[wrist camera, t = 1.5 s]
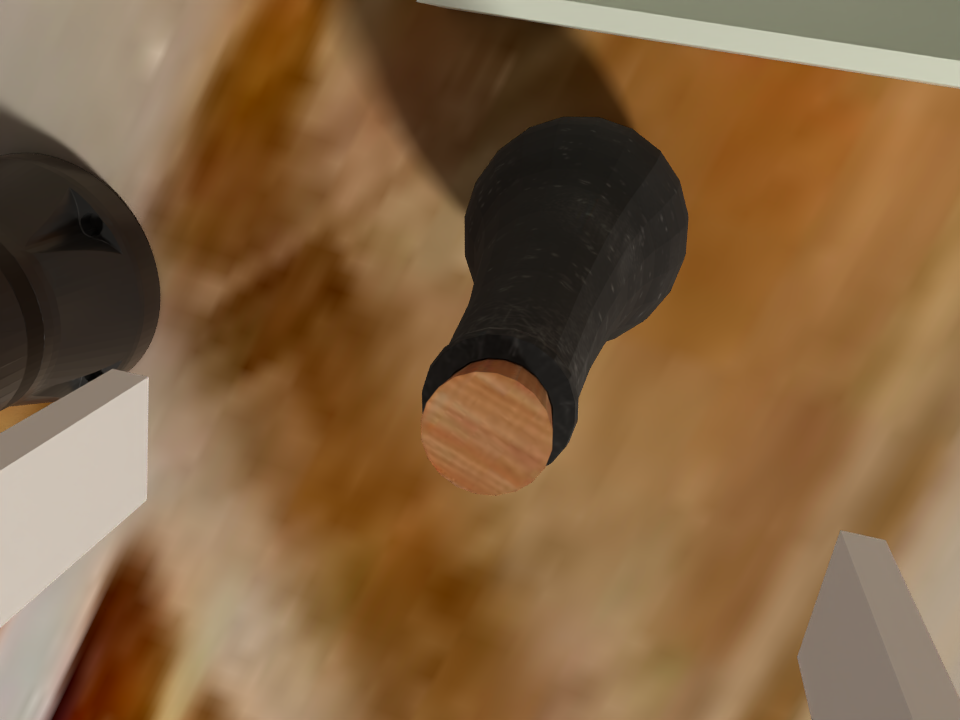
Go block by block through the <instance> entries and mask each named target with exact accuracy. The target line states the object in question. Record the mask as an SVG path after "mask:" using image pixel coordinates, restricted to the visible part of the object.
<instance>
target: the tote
mask: <svg viewBox="0 0 960 720" xmlns="http://www.w3.org/2000/svg"><path fill="white" fill-rule="evenodd" d="M416 2H419V3H424V4H428V5H433V6H438V7H442V8H447V9H454V10H460V11H466V12H473V13H479V14H486V15H492V16H498V17H505V18H511V19H517V20H524V21H530V22H537V23H543V24H549V25H556V26H562V27H568V28H575V29H581V30H588V31H594V32H600V33H607V34H613V35H620V36H626V37H632V38H639V39H645V40H651V41H658V42H664V43H671V44H677V45H683V46H690V47H696V48H702V49H709V50H715V51H722V52H728V53H734V54H741V55H747V56H753V57H760V58H766V59H773V60H779V61H785V62H792V63H798V64H804V65H811V66H817V67H824V68H830V69H836V70H843V71H849V72H856V73H862V74H868V75H875V76H881V77H887V78H894V79H900V80H907V81H913V82H919V83H926V84H932V85H938V86H945V87H951V88H958V89H960V0H417V1H416Z"/></svg>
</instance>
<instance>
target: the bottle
mask: <svg viewBox="0 0 960 720" xmlns="http://www.w3.org/2000/svg"><path fill="white" fill-rule="evenodd" d="M687 230H688V212H687V208H686V204H685V200H684V196H683V192H682V188H681V184H680V180H679V179H678V177H677V176H676V174H675V173H674V171H673V170H672V168H671V167H670V165H669V163H668V162H667V160H666V159H665V157H664V156H663V154H662V153H661V151H660V150H659V149H657V148H656V147H655V146H653V145H652V144H651V143H650V142H648V141H647V140H646V139H645V138H643V137H642V136H641V135H639V134H638V133H637V132H636V131H634V130H633V129H631V128H628V127H625V126H623V125H620V124H617V123H614V122H611V121H608V120H606V119H603V118H600V117H561V118H558V119H555V120H552V121H548V122H545V123H542V124H539V125H536V126H533V127H530V128H528V129H527V130H526V131H524V132H523V133H522V134H520V135H519V136H517V137H516V138H515V139H513V140H512V141H511V142H509V143H508V144H507V145H505V146H504V147H502V148H501V149H500V150H499V151H498V152H497V153H496V155H495V156H494V158H493V159H492V160H491V162H490V163H489V164H488V166H487V167H486V169H485V170H484V171H483V173H482V174H481V176H480V177H479V178H478V180H477V182H476V183H475V186H474V189H473V192H472V195H471V199H470V202H469V205H468V208H467V211H466V214H465V257H466V260H467V264H468V267H469V270H470V273H471V276H472V279H473V282H474V285H473V290H472V294H471V298H470V301H469V304H468V307H467V309H466V311H465V313H464V315H463V317H462V319H461V321H460V323H459V325H458V327H457V329H456V331H455V333H454V335H453V337H452V339H451V341H450V343H449V345H447V346H446V347H444V348H443V350H442V351H441V352H440V354H439V355H438V356H437V358H436V359H435V360H434V361H433V363H432V364H431V365H430V368H429V371H428V374H427V377H426V381H425V384H424V387H423V390H422V410H423V415H422V418H421V440H422V443H423V446H424V449H425V451H426V454H427V457H428V459H429V460H430V462H431V463H432V464H433V466H434V467H435V468H436V470H437V471H438V472H439V474H440V475H442V476H443V477H444V478H446V479H447V480H448V481H450V482H451V483H452V484H454V485H455V486H457V487H459V488H462V489H464V490H467V491H470V492H472V493H475V494H484V495H495V496H496V495H501V494H506V493H511V492H516V491H517V490H519V489H521V488H523V487H524V486H526V485H528V484H530V483H532V482H533V481H534V480H535V478H536V477H537V476H538V475H539V474H540V473H541V472H542V471H543V469H544V468H545V467H546V466H547V465H549V464H551V463H552V462H553V461H554V459H555V458H556V457H557V456H558V455H559V454H560V453H561V452H562V450H563V449H564V448H565V447H566V446H567V444H568V443H569V441H570V438H571V436H572V433H573V431H574V428H575V426H576V423H577V420H578V398H579V395H580V393H581V390H582V388H583V385H584V382H585V380H586V377H587V375H588V372H589V370H590V368H591V366H592V364H593V363H594V361H595V359H596V357H597V356H598V354H599V352H600V350H601V349H602V347H603V345H604V344H605V343H606V341H609V340H612V339H615V338H616V337H618V336H620V335H621V334H623V333H625V332H626V331H628V330H630V329H631V328H633V327H635V326H636V325H638V324H640V323H641V322H643V321H644V320H645V319H647V318H648V317H649V315H650V314H651V313H652V312H653V311H654V310H655V309H656V307H657V306H658V305H659V304H660V303H661V302H662V301H663V299H664V298H665V297H666V296H667V295H668V294H669V293H670V291H671V289H672V286H673V284H674V282H675V279H676V277H677V274H678V272H679V270H680V267H681V265H682V263H683V260H684V257H685V254H686V242H687Z"/></svg>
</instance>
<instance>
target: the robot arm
mask: <svg viewBox="0 0 960 720" xmlns="http://www.w3.org/2000/svg"><path fill="white" fill-rule="evenodd" d="M159 310H160V285H159V278H158V272H157V268H156V263H155V260H154V257H153V254H152V251H151V248H150V246H149V243H148V241H147V239H146V237H145V235H144V233H143V231H142V229H141V227H140V226H139V224H138V222H137V221H136V219H135V218H134V216H133V215H132V213H131V212H130V211H129V209H128V208H127V207H126V206H125V204H124V203H123V202H122V201H121V200H120V199H119V198H118V197H117V196H116V195H115V194H114V193H113V192H112V191H111V190H110V189H109V188H108V187H107V186H106V185H105V184H103V183H102V182H101V181H100V180H98V179H97V178H96V177H94V176H93V175H91V174H90V173H88V172H87V171H85V170H83V169H81V168H80V167H78V166H75V165H73V164H71V163H69V162H66V161H64V160H61V159H58V158H55V157H51V156H47V155H41V154H33V153H17V154H9V155H3V156H0V411H1V410H3V409H5V408H7V407H9V406H18V405H28V404H38V403H47V402H54V403H52V404H50V405H49V406H47V407H45V408H43V409H42V410H40V411H38V412H36V413H35V414H33V415H31V416H30V417H28V418H26V419H24V420H23V421H21V422H19V423H17V424H16V425H14V426H12V427H10V428H9V429H7V430H5V431H3V432H2V433H0V628H1V627H2V626H3V625H4V624H5V623H6V622H7V621H9V620H10V619H11V618H12V617H13V616H14V615H15V614H17V613H18V612H19V611H20V610H21V609H22V608H24V607H25V606H26V605H27V604H28V603H29V602H30V601H32V600H33V599H34V598H35V597H36V596H37V595H38V594H40V593H41V592H42V591H43V590H44V589H45V588H46V587H48V586H49V585H50V584H51V583H52V582H53V581H55V580H56V579H57V578H58V577H59V576H60V575H61V574H63V573H64V572H65V571H66V570H67V569H68V568H69V567H71V566H72V565H73V564H74V563H75V562H76V561H77V560H79V559H80V558H81V557H82V556H83V555H84V554H86V553H87V552H88V551H89V550H90V549H91V548H92V547H94V546H95V545H96V544H97V543H98V542H99V541H100V540H102V539H103V538H104V537H105V536H106V535H107V534H108V533H110V532H111V531H112V530H113V529H114V528H115V527H117V526H118V525H119V524H120V523H121V522H122V521H123V520H125V519H126V518H127V517H128V516H129V515H130V514H131V513H133V512H134V511H135V510H136V509H137V508H138V507H139V506H141V505H142V504H143V503H144V502H145V501H146V500H147V457H148V387H149V377H147V376H143V375H138V374H134V373H129V372H128V371H129V370H131V369H132V368H133V367H134V366H135V365H136V364H137V362H138V361H139V360H140V359H141V358H142V356H143V355H144V353H145V352H146V350H147V349H148V347H149V345H150V343H151V341H152V338H153V336H154V333H155V330H156V327H157V322H158V318H159ZM797 658H798V662H799V667H800V671H801V675H802V680H803V684H804V688H805V693H806V697H807V701H808V706H809V710H810V714H811V719H812V720H960V698H959V696H958V694H957V692H956V690H955V688H954V686H953V683H952V681H951V679H950V677H949V675H948V673H947V671H946V668H945V666H944V664H943V662H942V660H941V658H940V656H939V654H938V651H937V649H936V647H935V645H934V643H933V641H932V639H931V636H930V634H929V632H928V630H927V628H926V626H925V624H924V621H923V619H922V617H921V615H920V613H919V611H918V609H917V607H916V604H915V602H914V600H913V598H912V596H911V594H910V592H909V589H908V587H907V585H906V583H905V581H904V579H903V577H902V575H901V572H900V570H899V568H898V566H897V564H896V562H895V560H894V557H893V555H892V553H891V551H890V549H889V547H888V545H887V542H886V540H882V539H877V538H873V537H868V536H864V535H859V534H855V533H850V532H846V531H841V530H840V533H839V536H838V539H837V542H836V545H835V548H834V551H833V554H832V557H831V560H830V562H829V565H828V568H827V571H826V574H825V577H824V580H823V583H822V586H821V589H820V592H819V595H818V598H817V601H816V604H815V606H814V609H813V612H812V615H811V618H810V621H809V624H808V627H807V630H806V633H805V636H804V639H803V642H802V645H801V648H800V650H799V653H798V656H797Z"/></svg>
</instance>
